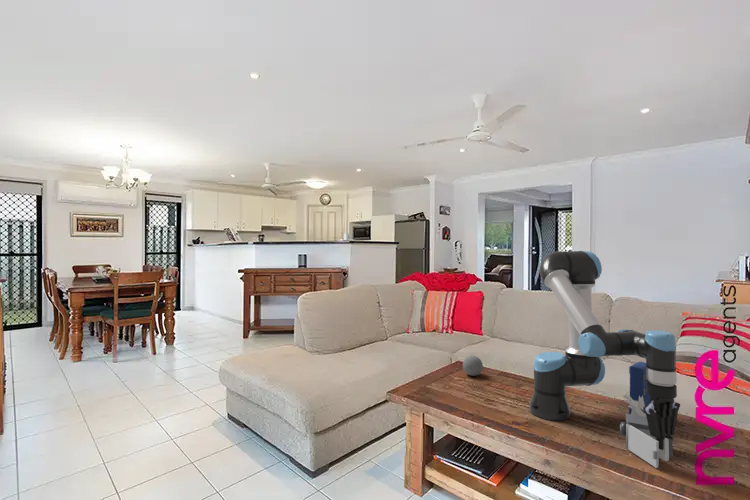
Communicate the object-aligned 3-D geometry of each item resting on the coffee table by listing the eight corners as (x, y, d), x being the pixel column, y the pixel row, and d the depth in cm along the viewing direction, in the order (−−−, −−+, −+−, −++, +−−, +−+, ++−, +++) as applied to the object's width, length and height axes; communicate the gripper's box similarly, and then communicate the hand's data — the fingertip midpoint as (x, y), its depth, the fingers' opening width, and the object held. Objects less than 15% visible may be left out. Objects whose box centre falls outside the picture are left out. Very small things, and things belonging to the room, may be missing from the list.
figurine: (629, 417, 154) (629, 387, 154) (652, 425, 148) (652, 393, 148) (617, 425, 148) (617, 393, 147) (640, 433, 142) (640, 400, 141)
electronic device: (643, 420, 151) (643, 369, 151) (628, 416, 155) (628, 365, 155) (652, 414, 157) (652, 364, 157) (637, 409, 161) (637, 360, 161)
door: (623, 447, 131) (623, 424, 131) (628, 447, 131) (628, 423, 131) (654, 468, 119) (654, 442, 119) (659, 467, 120) (659, 441, 119)
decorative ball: (463, 378, 199) (463, 358, 199) (462, 371, 209) (462, 352, 209) (483, 379, 198) (483, 359, 197) (481, 372, 208) (481, 353, 207)
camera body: (621, 447, 132) (621, 418, 132) (619, 438, 139) (619, 410, 138) (672, 457, 126) (672, 427, 126) (668, 447, 132) (668, 418, 132)
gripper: (663, 375, 127) (665, 449, 127) (634, 381, 123) (636, 456, 123) (688, 383, 120) (690, 460, 120) (658, 389, 116) (660, 469, 116)
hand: (663, 458), depth 122 cm, fingers closed
